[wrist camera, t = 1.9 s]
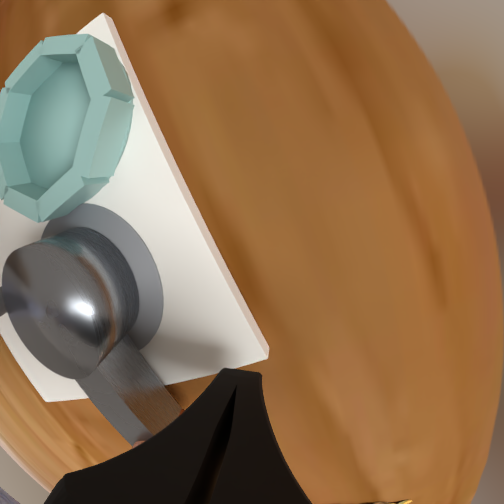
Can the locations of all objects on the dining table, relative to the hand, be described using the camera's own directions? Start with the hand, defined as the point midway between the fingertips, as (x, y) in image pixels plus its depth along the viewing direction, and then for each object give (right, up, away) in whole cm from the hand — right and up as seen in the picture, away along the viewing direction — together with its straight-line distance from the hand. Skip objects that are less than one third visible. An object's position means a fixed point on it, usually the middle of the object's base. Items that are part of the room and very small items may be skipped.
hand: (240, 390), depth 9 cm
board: (-10, +5, +2) cm, 11 cm away
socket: (-7, +10, 0) cm, 12 cm away
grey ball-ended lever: (-5, +1, +2) cm, 5 cm away
